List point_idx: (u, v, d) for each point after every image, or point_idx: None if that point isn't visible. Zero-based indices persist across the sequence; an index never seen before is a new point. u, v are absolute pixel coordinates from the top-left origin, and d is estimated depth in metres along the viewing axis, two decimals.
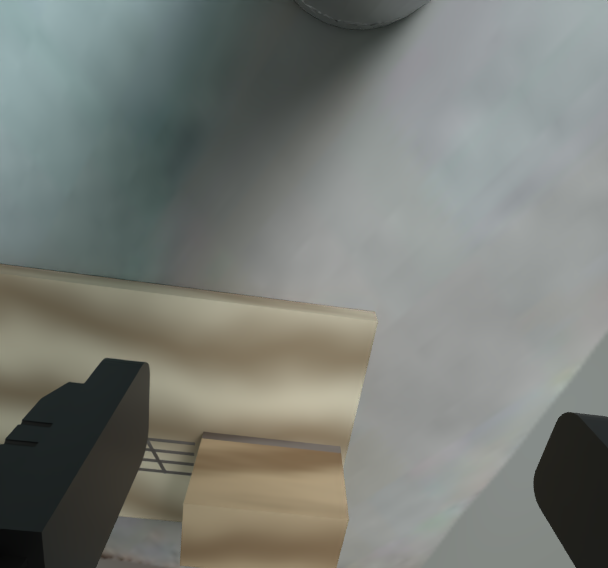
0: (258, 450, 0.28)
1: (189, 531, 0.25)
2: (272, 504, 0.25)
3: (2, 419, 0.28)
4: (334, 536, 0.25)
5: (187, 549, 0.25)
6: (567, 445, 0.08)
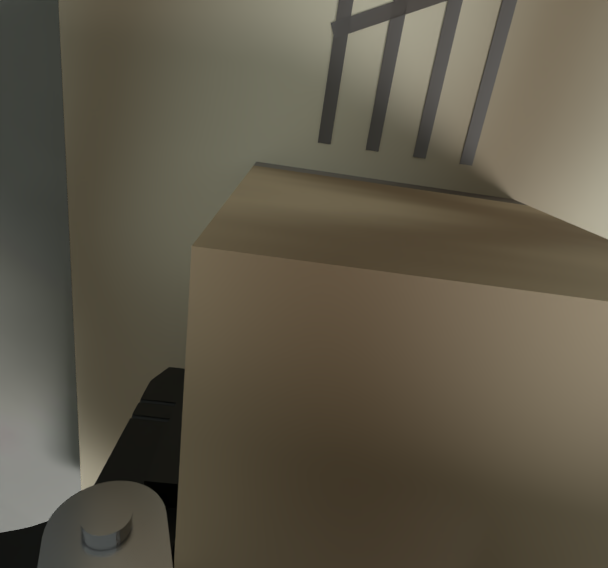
0: None
1: (554, 343, 0.04)
2: None
3: None
4: None
5: (374, 315, 0.03)
6: None
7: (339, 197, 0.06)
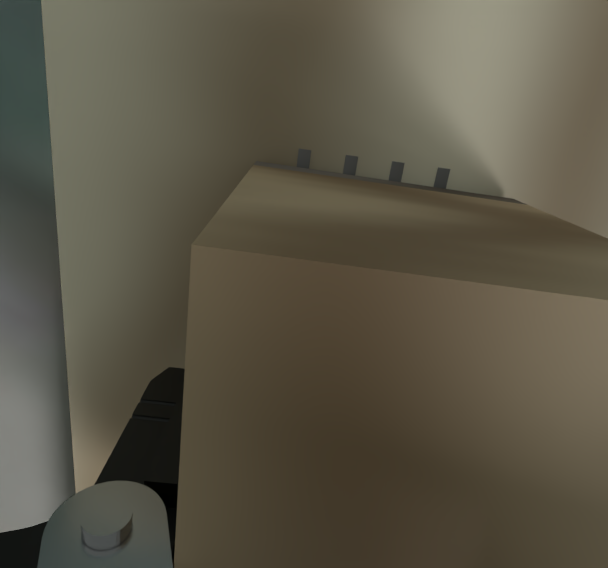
0: None
1: (555, 342, 0.04)
2: None
3: (502, 11, 0.08)
4: None
5: (374, 314, 0.03)
6: None
7: (339, 196, 0.06)
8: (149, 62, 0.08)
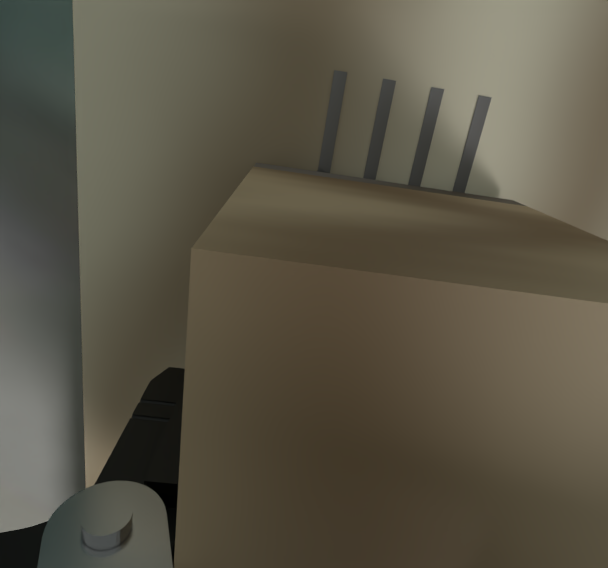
0: None
1: (554, 346, 0.04)
2: None
3: None
4: None
5: (373, 317, 0.03)
6: None
7: (339, 198, 0.06)
8: None
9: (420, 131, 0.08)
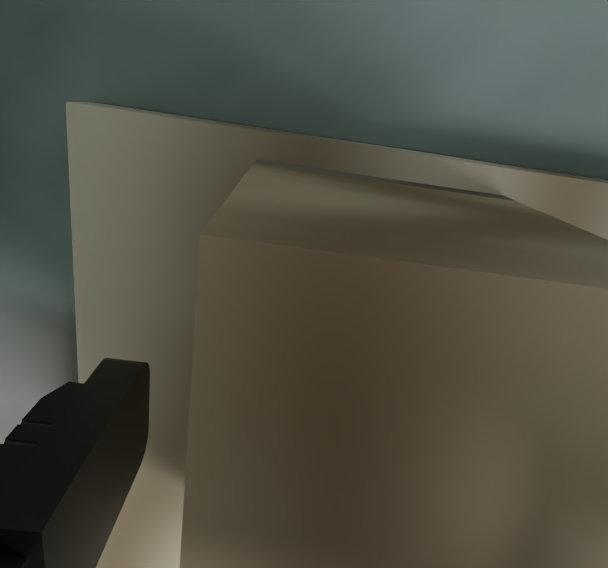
0: None
1: (531, 323, 0.04)
2: None
3: None
4: None
5: (366, 298, 0.04)
6: None
7: (336, 192, 0.06)
8: (160, 239, 0.09)
9: None
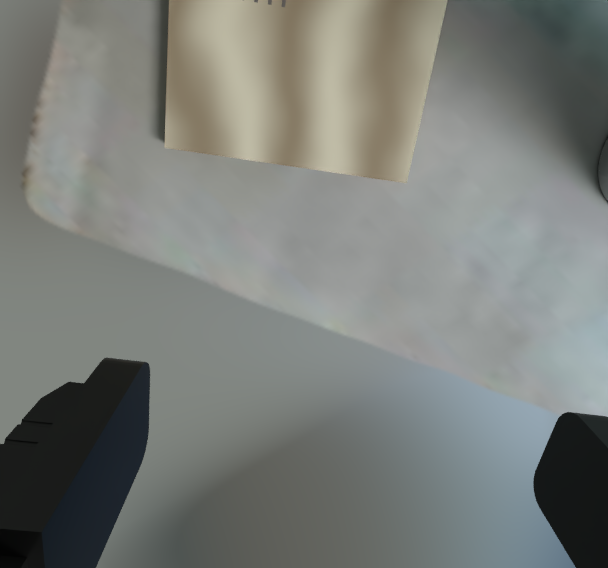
0: None
1: None
2: None
3: None
4: None
5: None
6: (567, 445, 0.08)
7: None
8: None
9: None
